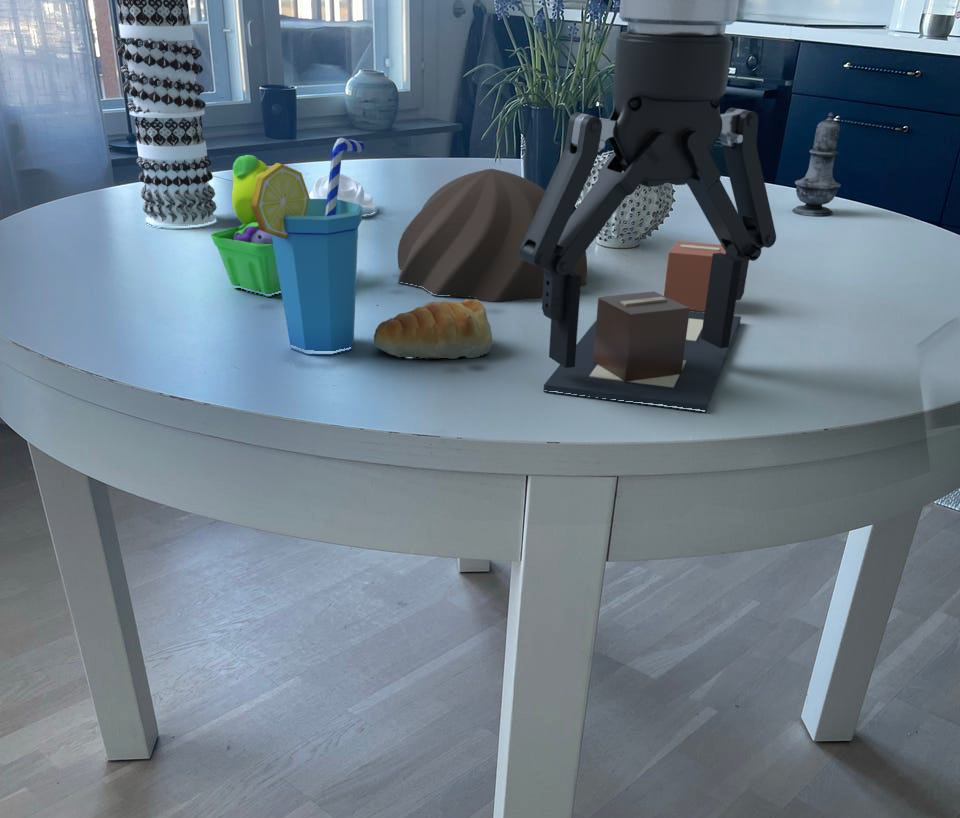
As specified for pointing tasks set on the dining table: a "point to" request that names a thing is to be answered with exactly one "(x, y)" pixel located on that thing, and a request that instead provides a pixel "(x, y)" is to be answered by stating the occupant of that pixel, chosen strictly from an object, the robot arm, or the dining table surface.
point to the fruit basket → (248, 235)
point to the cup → (312, 253)
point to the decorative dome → (476, 239)
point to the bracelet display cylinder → (166, 111)
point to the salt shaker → (819, 172)
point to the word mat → (668, 390)
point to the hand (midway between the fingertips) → (640, 352)
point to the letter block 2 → (690, 273)
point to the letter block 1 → (640, 335)
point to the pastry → (437, 331)
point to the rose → (345, 193)
